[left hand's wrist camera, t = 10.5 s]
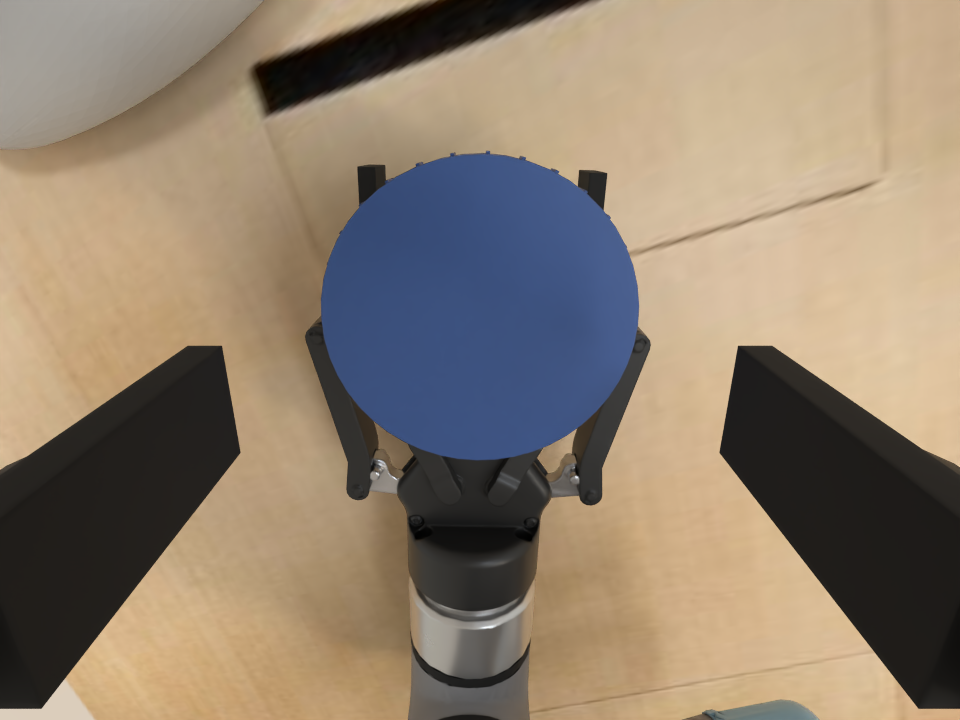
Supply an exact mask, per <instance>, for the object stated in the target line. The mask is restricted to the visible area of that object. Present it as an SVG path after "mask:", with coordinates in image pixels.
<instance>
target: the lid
mask: <svg viewBox="0 0 960 720" xmlns="http://www.w3.org/2000/svg"><path fill="white" fill-rule="evenodd" d="M525 159H526V157H522V156H520V157H519V158H514V157H510V156H506V155H498V154H490V151H486V153H477V154H461V155H456V154H455V153H451V154H450V157H445V158H440V159H438V160H435V161H432V162H429V163H426V164H423V162H420V163H417V164H416V167H415V168H413V169H411V170H409V171H407V172H405V173H403V174H401V175H399V176H397V177H395V178H394V179H393V178H391V179H389V180H386V181H385V185H384V186H382V187H381V188H379V189H378V190H377V191H376V192H375V193H374V194H373V195H372V196H370V197H369V198H368V199H367V200H366V201H364V202H362V203H361V204H360V205H359V206H360V207H359V209H358V210H357V211H356V212H355V213H354V215H353V216H352V217H351V218H350V220H349V221H348V222H347V224H346V226H345V227H344V229H343V230H342V231H341V232H340V233H339V234H340V236H339V237H338V239H337V241H336V243H335V246H334V248H333V250H332V253H331V255H330V258H329V260H328V263H327V268H326V272H325V275H324V279H323V288H322V296H321V320H322V327H323V333H324V339H325V343H326V346H327V350H328V353H329V357H330V359H331V362H332V364H333V366H334V368H335V371H336V373H337V375H338V377H339V379H340V380H341V382H342V384H343V385H344V387H345V389H346V390H347V392H348V393H349V394H350V396H351V397H352V398H353V400H354V401H355V402H356V403H357V405H358V406H359V407H360V408H361V409H362V410H363V411H364V412H365V413H366V414H367V415H368V416H369V417H370V418H371V419H372V420H373V421H374V422H376V423H377V424H378V425H379V426H381V427H382V428H383V429H385V430H386V431H387V432H389V433H390V434H392V435H394V436H395V437H397V438H399V439H400V440H402V441H404V442H406V443H408V444H410V445H412V446H415V447H417V448H419V449H421V450H424V451H428V452H431V453H434V454H437V455H441V456H446V457H451V458H456V459H467V460H496V459H503V458H509V457H515V456H519V455H522V454H526V453H530V452H533V451H535V450H538V449H540V448H543V447H545V446H548V445H550V444H552V443H554V442H556V441H558V440H559V439H561V438H563V437H565V436H567V435H568V434H570V433H571V432H572V431H574V430H575V429H577V428H578V427H579V426H581V425H582V424H583V423H584V422H585V421H587V420H588V419H589V418H590V417H591V416H592V415H593V414H594V413H595V412H596V411H597V410H598V409H599V408H600V407H601V405H602V404H603V403H604V402H605V401H606V400H607V398H608V397H609V396H610V394H611V393H612V391H613V390H614V388H615V387H616V385H617V384H618V382H619V380H620V378H621V376H622V374H623V372H624V370H625V368H626V366H627V364H628V361H629V358H630V356H631V353H632V350H633V347H634V343H635V338H636V333H637V327H638V314H639V299H638V286H637V281H636V277H635V272H634V268H633V264H632V261H631V259H630V256H629V253H628V251H627V246H626V245H625V244H624V242H623V240H622V238H621V236H620V234H619V232H618V231H617V229H616V227H615V226H614V224H613V223H612V222H611V220H610V218H611V217H610V216H609V215H607V214H606V213H605V212H604V211H603V209H602V208H601V207H600V206H599V205H598V204H597V203H596V202H595V201H594V200H593V199H592V198H591V197H590V196H589V195H588V194H587V193H588V192H587V191H586V190H584V189H582V188H580V187H577V186H576V185H575V184H573V183H572V182H571V181H569V180H568V179H566V178H564V177H562V176H561V175H559V174H558V173H559V171H557V170H555V169H552V168H551V170H550V169H547V168H545V167H542V166H539V165H537V164H534V163H532V162H529V161H526V160H525Z"/></svg>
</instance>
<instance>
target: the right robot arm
mask: <svg viewBox="0 0 960 720" xmlns="http://www.w3.org/2000/svg"><path fill="white" fill-rule="evenodd" d="M606 180H607V173H604V172H599V171H594V170H579V179H578V187H580V188H582V189H584V190H586V191H587V192H588V193H587V194H588V195H589V196H590V197H591V198H592V199H593V200H594V201H595V202H596V203H597V204H598V205H599V206H600V207H601V208H602V209H603V210H604V200H605V190H606ZM385 181H386V176H385V165H364V166H359V167H358V187H359V205H360V204H361V203H362V202H364V201H366V200H367V199H368V198H369V197H370V196H372V195H373V194H374V193H375V192H376V191H377V190H378V189H379V188H381V187H382V186H384V185H385ZM305 338H306V343H307V346H308V348H309V351H310V354H311V357H312V360H313V363H314V366H315V369H316V372H317V374H318V377H319V380H320V383H321V386H322V389H323V392H324V395H325V397H326V400H327V403H328V406H329V409H330V412H331V415H332V418H333V420H334V423H335V426H336V429H337V432H338V435H339V438H340V441H341V443H342V446H343V449H344V452H345V455H346V458H347V461H348V473H347V494H348V495H349V497H351V498H352V499H355V500H362V499H365V498H366V497H367V496H368V494H369V491H376V492H384V493H393V494H397V495H398V497H399V499H400V501H401V502H402V504H403V505H404V507H405V509H406V512H407V528H408V566H409V573H410V578H409V601H410V625H411V644H412V667H411V697H410V707H409V715H408V720H530V716H529V704H528V672H529V648H530V641H531V633H532V625H533V611H534V598H535V575H536V569H537V556H538V543H539V530H540V518H541V514H542V512H543V510H544V508H545V507H546V505H547V504H548V503H549V501H550V499H551V498H552V497H566V496H580V500H581V501H582V503H584V504H586V505H595V504H597V503H598V502H599V501H600V500H601V498H602V467H603V464H604V462H605V459H606V457H607V454H608V452H609V449H610V447H611V444H612V442H613V439H614V437H615V434H616V432H617V430H618V427H619V425H620V422H621V420H622V417H623V415H624V412H625V410H626V407H627V405H628V402H629V400H630V397H631V395H632V392H633V390H634V387H635V385H636V382H637V380H638V377H639V375H640V372H641V370H642V367H643V365H644V362H645V360H646V357H647V355H648V352H649V350H650V346H651V344H650V340H649V339H648V338H647V336H646V335H645V334H644V333H643V332H642V331H641V329H640V328H639V327H637V333H636V338H635V343H634V347H633V350H632V353H631V356H630V358H629V361H628V364H627V366H626V368H625V370H624V372H623V374H622V376H621V378H620V380H619V382H618V384H617V385H616V387H615V388H614V390H613V391H612V393H611V394H610V396H609V397H608V398H607V400H606V401H605V402H604V403H603V404H602V405H601V407H600V408H599V409H598V410H597V411H596V412H595V413H594V414H593V415H592V416H591V417H590V418H589V419H588V420H587V421H585V422H584V423H583V424H582V425H581V426H579V427H578V428H577V431H576V434H575V437H574V441H573V447H572V454H570V453H568V454H566V455H565V456H564V458H563V459H562V460H561V462H560V466H559V468H558V469H557V470H556V471H555V472H553V473H547V471H546V470H545V468H544V467H543V466H542V464H541V463H540V462H539V460H538V459H537V456H538V455H539V454H540V452H541V450H542V449H543V448H540V449H538V450H535V451H533V452H530V453H526V454H522V455H519V456H515V457H509V458H503V459H496V460H467V459H456V458H451V457H446V456H441V455H437V454H434V453H431V452H428V451H424V450H421V449H419V448H417V447H415V446H412V445H410V444H408V445H409V447H410V449H411V451H412V452H413V454H414V455H413V457H412V458H411V459H410V460H409V462H408V463H407V464H406V465H405V466H404V468H403V469H402V470H399V469H396V468H394V467H393V466H392V464H391V462H390V457H389V456H388V454H387V453H386V451H385V450H384V449H379V450H378V436H377V432H376V428H375V425H374V421H373V420H372V419H371V418H370V417H369V416H368V415H367V414H366V413H365V412H364V411H363V410H362V409H361V408H360V407H359V406H358V405H357V403H356V402H355V401H354V400H353V398H352V397H351V396H350V394H349V393H348V392H347V390H346V389H345V387H344V385H343V384H342V382H341V380H340V379H339V377H338V375H337V373H336V371H335V368H334V366H333V364H332V362H331V359H330V357H329V353H328V350H327V346H326V343H325V339H324V333H323V327H322V320H321V317H320V318H319V319H318V320H317V321H316V322H315V323H314V324H313V325H312V326H311V327H310V329H309V330H308V331H307V332H306V335H305ZM683 720H819V719H818V718H817V717H816V715H815V714H814V713H812V712H811V711H810V710H809V709H807V708H806V707H804V706H803V705H801V704H799V703H797V702H794V701H790V700H776V701H771V702H766V703H761V704H755V705H750V706H745V707H740V708H735V709H729V710H724V711H719V712H718V711H715V710H712V709H711V710H706V711H704V712H702V714H701V715H697V716H694V717H690V718H686V719H683Z"/></svg>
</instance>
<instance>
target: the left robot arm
mask: <svg viewBox="0 0 960 720" xmlns="http://www.w3.org/2000/svg"><path fill="white" fill-rule="evenodd" d="M239 454H240V447H239V441H238V436H237V430H236V424H235V418H234V413H233V407H232V401H231V395H230V390H229V384H228V378H227V373H226V367H225V361H224V355H223V350H222V346H187V347H186V348H184V349H183V350H181V351H180V352H178V353H177V354H175V355H174V356H172V357H171V358H170V359H168V360H167V361H165V362H164V363H162V364H161V365H159V366H158V367H156V368H155V369H154V370H152V371H151V372H149V373H148V374H146V375H145V376H143V377H142V378H141V379H139V380H138V381H136V382H135V383H133V384H132V385H130V386H129V387H127V388H126V389H125V390H123V391H122V392H120V393H119V394H117V395H116V396H114V397H113V398H111V399H110V400H109V401H107V402H106V403H104V404H103V405H101V406H100V407H98V408H97V409H95V410H94V411H93V412H91V413H90V414H88V415H87V416H85V417H84V418H82V419H81V420H79V421H78V422H77V423H75V424H74V425H72V426H71V427H69V428H68V429H66V430H65V431H64V432H62V433H61V434H59V435H58V436H56V437H55V438H53V439H52V440H50V441H49V442H48V443H46V444H45V445H43V446H42V447H40V448H39V449H37V450H36V451H34V452H33V453H32V454H30V455H29V456H27V457H25V458H23V459H21V460H18V461H16V462H14V463H12V464H9V465H7V466H6V467H4V468H3V469H1V470H0V709H41V708H42V707H43V706H44V705H45V703H46V702H47V701H48V700H49V698H50V697H51V696H52V694H53V693H54V692H55V691H56V689H57V688H58V687H59V685H60V684H61V683H62V682H63V680H64V679H65V678H66V676H67V675H68V674H69V673H70V671H71V670H72V669H73V667H74V666H75V665H76V664H77V662H78V661H79V660H80V658H81V657H82V656H83V655H84V653H85V652H86V651H87V649H88V648H89V647H90V646H91V644H92V643H93V642H94V640H95V639H96V638H97V637H98V635H99V634H100V633H101V631H102V630H103V629H104V628H105V626H106V625H107V624H108V622H109V621H110V620H111V619H112V617H113V616H114V615H115V613H116V612H117V611H118V610H119V608H120V607H121V606H122V604H123V603H124V602H125V601H126V599H127V598H128V597H129V595H130V594H131V593H132V592H133V590H134V589H135V588H136V586H137V585H138V584H139V583H140V581H141V580H142V579H143V577H144V576H145V575H146V574H147V572H148V571H149V570H150V568H151V567H152V566H153V565H154V563H155V562H156V561H157V559H158V558H159V557H160V556H161V554H162V553H163V552H164V550H165V549H166V548H167V547H168V545H169V544H170V543H171V541H172V540H173V539H174V538H175V536H176V535H177V534H178V532H179V531H180V530H181V529H182V527H183V526H184V525H185V523H186V522H187V521H188V520H189V518H190V517H191V516H192V514H193V513H194V512H195V511H196V509H197V508H198V507H199V505H200V504H201V503H202V502H203V500H204V499H205V498H206V496H207V495H208V494H209V493H210V491H211V490H212V489H213V487H214V486H215V485H216V484H217V482H218V481H219V480H220V478H221V477H222V476H223V475H224V473H225V472H226V471H227V469H228V468H229V467H230V466H231V464H232V463H233V462H234V460H235V459H236V458H237V457H238V455H239ZM720 454H721V455H722V457H723V458H724V459H725V460H726V462H727V463H728V464H729V466H730V467H731V468H732V469H733V471H734V472H735V473H736V475H737V476H738V477H739V478H740V480H741V481H742V482H743V484H744V485H745V486H746V487H747V489H748V490H749V491H750V493H751V494H752V495H753V496H754V498H755V499H756V500H757V502H758V503H759V504H760V505H761V507H762V508H763V509H764V511H765V512H766V513H767V514H768V516H769V517H770V518H771V520H772V521H773V522H774V523H775V525H776V526H777V527H778V529H779V530H780V531H781V532H782V534H783V535H784V536H785V538H786V539H787V540H788V541H789V543H790V544H791V545H792V547H793V548H794V549H795V550H796V552H797V553H798V554H799V556H800V557H801V558H802V559H803V561H804V562H805V563H806V565H807V566H808V567H809V568H810V570H811V571H812V572H813V574H814V575H815V576H816V577H817V579H818V580H819V581H820V583H821V584H822V585H823V586H824V588H825V589H826V590H827V592H828V593H829V594H830V595H831V597H832V598H833V599H834V601H835V602H836V603H837V604H838V606H839V607H840V608H841V610H842V611H843V612H844V613H845V615H846V616H847V617H848V619H849V620H850V621H851V622H852V624H853V625H854V626H855V628H856V629H857V630H858V631H859V633H860V634H861V635H862V637H863V638H864V639H865V640H866V642H867V643H868V644H869V646H870V647H871V648H872V649H873V651H874V652H875V653H876V655H877V656H878V657H879V658H880V660H881V661H882V662H883V664H884V665H885V666H886V667H887V669H888V670H889V671H890V673H891V674H892V675H893V676H894V678H895V679H896V680H897V682H898V683H899V684H900V685H901V687H902V688H903V689H904V691H905V692H906V693H907V694H908V696H909V697H910V698H911V700H912V701H913V702H914V703H915V705H916V706H917V707H918V709H960V467H958V466H957V465H955V464H954V463H952V462H949V461H947V460H945V459H943V458H940V457H938V456H936V455H934V454H932V453H929V452H927V451H925V450H923V449H921V448H920V447H918V446H917V445H915V444H914V443H912V442H911V441H910V440H908V439H907V438H905V437H904V436H902V435H901V434H899V433H898V432H896V431H895V430H894V429H892V428H891V427H889V426H888V425H886V424H885V423H883V422H882V421H881V420H879V419H878V418H876V417H875V416H873V415H872V414H870V413H869V412H867V411H866V410H865V409H863V408H862V407H860V406H859V405H857V404H856V403H854V402H853V401H851V400H850V399H849V398H847V397H846V396H844V395H843V394H841V393H840V392H838V391H837V390H835V389H834V388H833V387H831V386H830V385H828V384H827V383H825V382H824V381H822V380H821V379H819V378H818V377H817V376H815V375H814V374H812V373H811V372H809V371H808V370H806V369H805V368H804V367H802V366H801V365H799V364H798V363H796V362H795V361H793V360H792V359H790V358H789V357H788V356H786V355H785V354H783V353H782V352H780V351H779V350H777V349H776V348H774V347H773V346H738V350H737V355H736V361H735V367H734V373H733V378H732V384H731V390H730V395H729V401H728V407H727V413H726V418H725V424H724V430H723V436H722V441H721V447H720Z"/></svg>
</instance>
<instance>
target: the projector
mask: <svg viewBox="0 0 960 720" xmlns="http://www.w3.org/2000/svg"><path fill="white" fill-rule="evenodd" d="M263 1H264V0H0V149H5V150H22V149H31V148H37V147H42V146H45V145H49V144H53V143H56V142H59V141H62V140H65V139H67V138H70V137H72V136H74V135H77V134H79V133H82V132H84V131H86V130H89V129H91V128H93V127H95V126H97V125H99V124H101V123H103V122H105V121H107V120H109V119H111V118H113V117H115V116H117V115H119V114H121V113H123V112H125V111H127V110H128V109H130V108H132V107H134V106H135V105H137V104H139V103H141V102H142V101H144V100H145V99H147V98H148V97H150V96H151V95H153V94H155V93H156V92H158V91H159V90H161V89H162V88H164V87H165V86H167V85H168V84H169V83H171V82H172V81H173V80H175V79H176V78H177V77H179V76H180V75H181V74H183V73H184V72H185V71H187V70H188V69H189V68H191V67H192V66H193V65H194V64H196V63H197V62H198V61H199V60H201V59H202V58H203V57H204V56H205V55H207V54H208V53H209V52H210V51H211V50H212V49H213V48H215V47H216V46H217V45H218V44H219V43H220V42H221V41H223V40H224V39H225V38H226V37H227V36H228V35H229V34H231V33H232V32H233V31H234V30H235V29H236V28H237V27H238V26H239V25H240V24H241V23H242V22H243V21H244V20H245V19H246V18H247V17H248V16H249V15H250V14H251V13H252V12H253V11H254V10H255V9H256V8H257V7H258V6H259V5H260V4H261V3H262V2H263Z"/></svg>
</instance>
